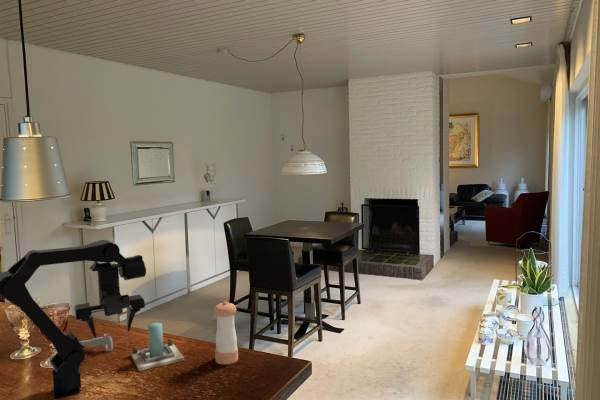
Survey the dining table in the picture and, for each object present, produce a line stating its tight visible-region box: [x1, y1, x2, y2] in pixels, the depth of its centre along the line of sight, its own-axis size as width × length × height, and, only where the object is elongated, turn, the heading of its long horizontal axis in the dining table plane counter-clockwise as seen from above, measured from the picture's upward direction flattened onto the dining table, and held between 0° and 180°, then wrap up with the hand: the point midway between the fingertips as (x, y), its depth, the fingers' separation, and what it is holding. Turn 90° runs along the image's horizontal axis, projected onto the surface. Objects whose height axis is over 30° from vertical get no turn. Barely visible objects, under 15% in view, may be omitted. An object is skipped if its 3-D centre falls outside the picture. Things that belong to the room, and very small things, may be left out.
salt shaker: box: [213, 300, 239, 365], centre depth 149 cm, size 7×7×19 cm
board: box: [130, 337, 185, 372], centre depth 152 cm, size 14×13×3 cm
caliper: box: [80, 332, 114, 352], centre depth 159 cm, size 20×1×6 cm, turn 79°
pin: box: [147, 322, 164, 358], centre depth 151 cm, size 4×4×10 cm
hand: (111, 334), depth 138 cm, fingers open, 9 cm apart
